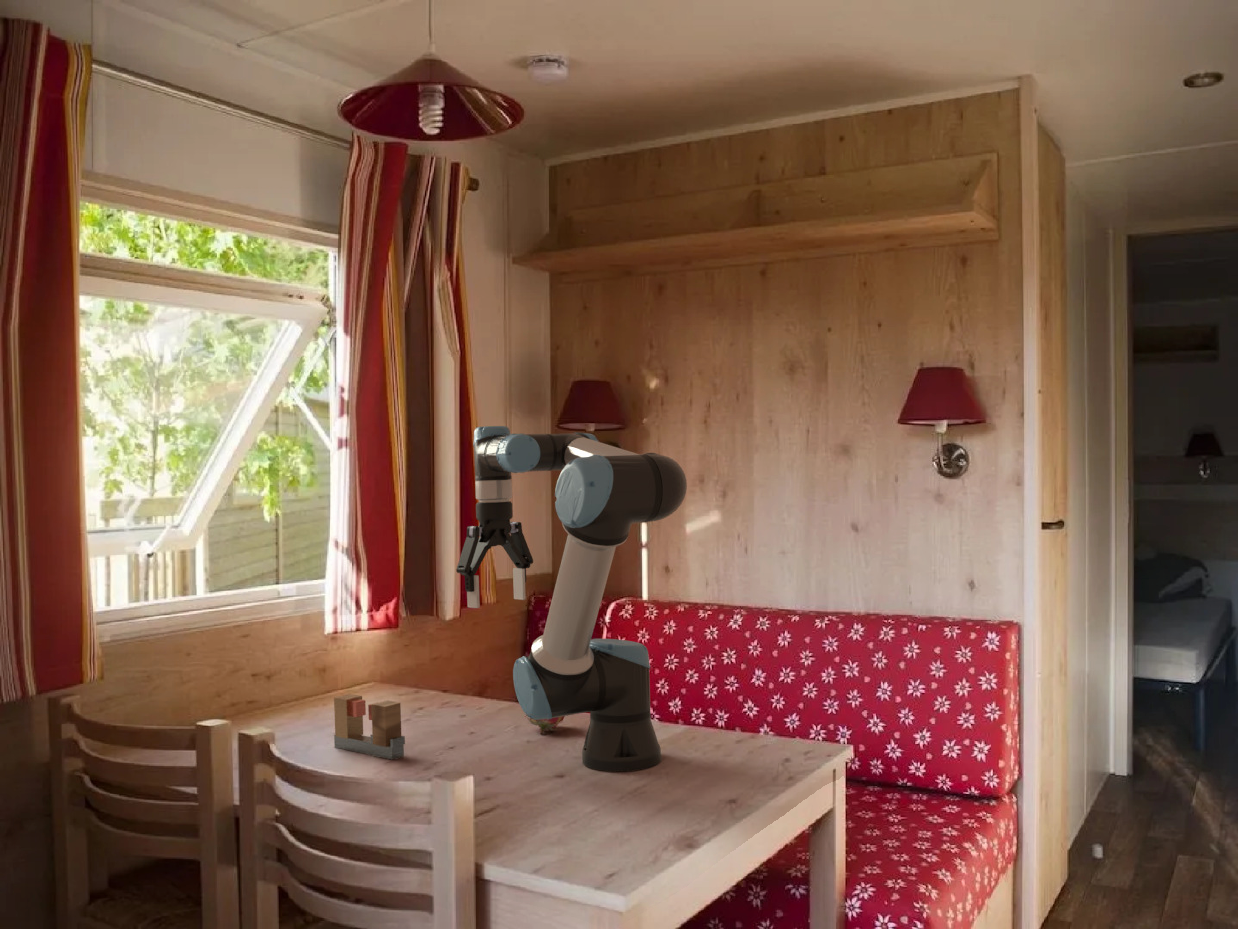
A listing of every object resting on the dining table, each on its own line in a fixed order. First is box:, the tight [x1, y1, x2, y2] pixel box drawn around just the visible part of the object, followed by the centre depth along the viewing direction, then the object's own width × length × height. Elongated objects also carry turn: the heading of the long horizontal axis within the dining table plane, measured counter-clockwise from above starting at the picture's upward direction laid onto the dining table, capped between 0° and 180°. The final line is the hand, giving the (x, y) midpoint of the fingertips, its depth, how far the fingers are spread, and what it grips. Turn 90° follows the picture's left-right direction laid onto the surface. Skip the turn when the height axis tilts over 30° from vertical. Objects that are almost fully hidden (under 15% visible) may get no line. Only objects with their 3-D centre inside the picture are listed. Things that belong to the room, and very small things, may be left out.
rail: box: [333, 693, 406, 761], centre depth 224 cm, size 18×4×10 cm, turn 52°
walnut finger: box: [367, 699, 402, 747], centre depth 222 cm, size 6×4×8 cm, turn 52°
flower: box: [524, 714, 566, 735], centre depth 237 cm, size 10×9×8 cm
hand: (497, 603), depth 229 cm, fingers open, 13 cm apart
